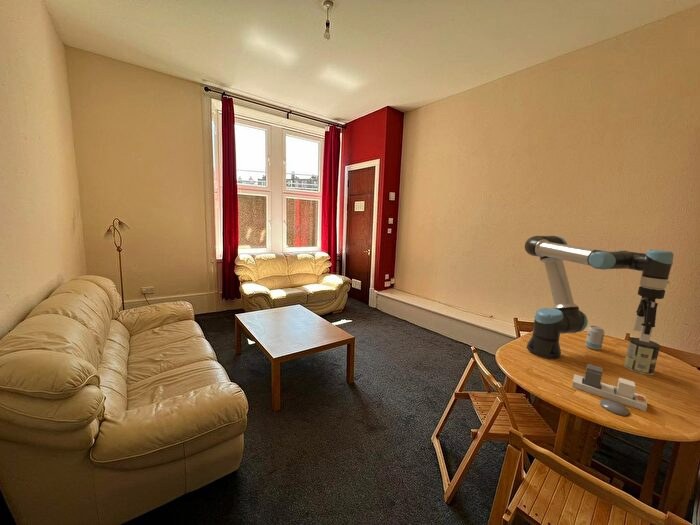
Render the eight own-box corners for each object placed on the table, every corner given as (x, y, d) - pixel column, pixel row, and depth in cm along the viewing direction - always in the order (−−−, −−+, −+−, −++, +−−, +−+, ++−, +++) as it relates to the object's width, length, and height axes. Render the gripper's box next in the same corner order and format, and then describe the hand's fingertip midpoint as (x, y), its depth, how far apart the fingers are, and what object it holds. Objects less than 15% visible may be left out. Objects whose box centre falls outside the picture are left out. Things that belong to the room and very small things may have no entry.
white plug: (616, 395, 112) (619, 382, 111) (616, 390, 115) (619, 377, 114) (632, 400, 109) (635, 386, 108) (631, 395, 112) (634, 381, 111)
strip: (572, 386, 120) (573, 380, 119) (573, 377, 127) (574, 371, 126) (645, 411, 106) (647, 404, 105) (643, 399, 113) (644, 392, 112)
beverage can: (584, 344, 162) (588, 324, 160) (600, 347, 158) (604, 327, 156) (585, 348, 157) (589, 328, 155) (602, 352, 153) (606, 331, 151)
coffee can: (642, 365, 140) (648, 338, 138) (660, 376, 130) (667, 348, 128) (618, 362, 142) (623, 336, 140) (634, 373, 132) (640, 345, 130)
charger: (583, 385, 118) (586, 367, 117) (584, 380, 122) (587, 363, 121) (598, 390, 115) (602, 372, 114) (599, 385, 119) (602, 367, 118)
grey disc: (600, 408, 107) (600, 406, 106) (600, 398, 113) (600, 396, 112) (629, 418, 101) (629, 416, 101) (627, 407, 107) (628, 406, 107)
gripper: (674, 295, 104) (660, 349, 108) (658, 283, 124) (647, 329, 127) (645, 291, 109) (633, 343, 112) (634, 280, 128) (624, 324, 132)
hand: (640, 335), depth 120 cm, fingers open, 13 cm apart
